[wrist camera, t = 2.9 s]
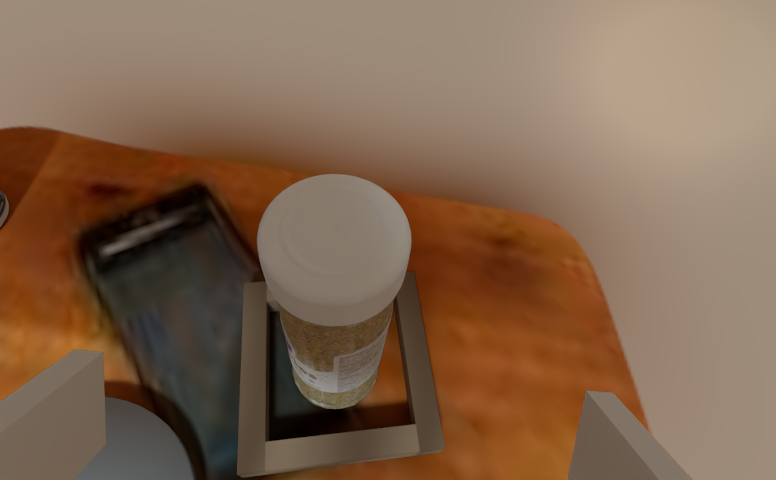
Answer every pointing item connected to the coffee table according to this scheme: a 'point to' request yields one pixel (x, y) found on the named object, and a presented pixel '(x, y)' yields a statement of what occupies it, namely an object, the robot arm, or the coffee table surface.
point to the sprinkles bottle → (334, 280)
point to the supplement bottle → (3, 207)
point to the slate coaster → (138, 447)
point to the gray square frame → (339, 447)
